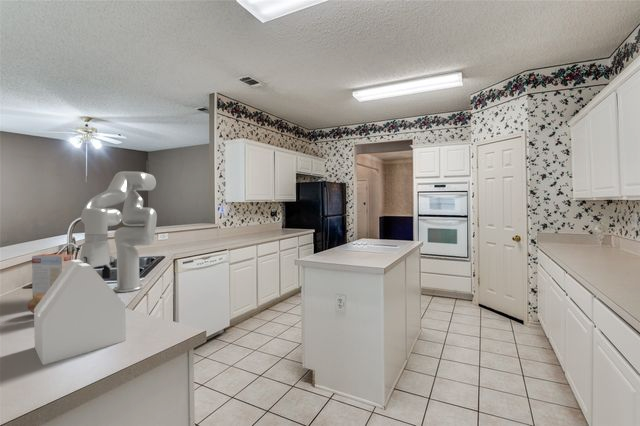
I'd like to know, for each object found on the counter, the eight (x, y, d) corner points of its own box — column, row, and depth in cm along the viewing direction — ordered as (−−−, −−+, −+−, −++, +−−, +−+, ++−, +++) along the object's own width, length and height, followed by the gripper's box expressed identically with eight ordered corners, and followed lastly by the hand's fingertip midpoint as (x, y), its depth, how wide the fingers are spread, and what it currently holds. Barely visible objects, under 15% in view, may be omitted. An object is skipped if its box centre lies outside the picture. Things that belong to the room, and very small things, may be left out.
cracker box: (74, 301, 134) (73, 254, 134) (61, 305, 128) (60, 256, 128) (45, 300, 136) (45, 253, 135) (31, 304, 130) (31, 255, 129)
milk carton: (42, 365, 80) (41, 271, 80) (34, 347, 90) (33, 264, 90) (125, 341, 95) (124, 261, 94) (110, 328, 105) (109, 256, 104)
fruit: (22, 317, 114) (22, 296, 114) (42, 310, 122) (41, 291, 121) (42, 318, 114) (42, 297, 113) (61, 311, 121) (60, 291, 121)
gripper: (105, 237, 132) (105, 276, 132) (67, 240, 115) (67, 285, 115) (121, 237, 131) (121, 276, 131) (85, 240, 114) (85, 286, 114)
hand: (96, 280), depth 123 cm, fingers open, 9 cm apart
